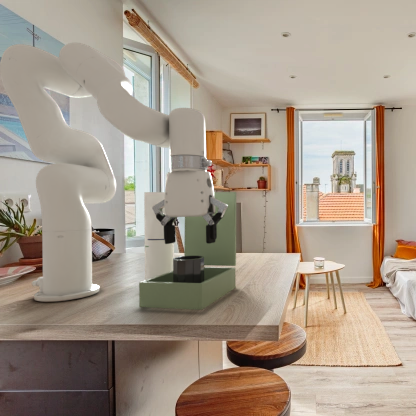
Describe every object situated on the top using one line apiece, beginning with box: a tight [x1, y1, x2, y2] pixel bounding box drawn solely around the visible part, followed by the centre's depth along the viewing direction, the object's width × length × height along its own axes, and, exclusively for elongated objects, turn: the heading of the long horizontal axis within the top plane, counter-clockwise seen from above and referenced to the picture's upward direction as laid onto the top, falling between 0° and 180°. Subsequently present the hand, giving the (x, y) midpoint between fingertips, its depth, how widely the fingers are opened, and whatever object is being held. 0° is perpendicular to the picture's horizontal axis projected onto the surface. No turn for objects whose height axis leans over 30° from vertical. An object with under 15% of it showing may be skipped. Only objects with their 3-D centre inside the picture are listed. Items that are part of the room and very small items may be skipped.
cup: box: [173, 255, 205, 283], centre depth 72 cm, size 6×6×9 cm
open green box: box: [138, 266, 237, 311], centre depth 74 cm, size 18×14×6 cm
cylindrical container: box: [143, 191, 175, 281], centre depth 88 cm, size 7×7×25 cm
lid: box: [183, 191, 237, 267], centre depth 83 cm, size 18×14×1 cm
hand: (190, 243), depth 72 cm, fingers open, 9 cm apart
